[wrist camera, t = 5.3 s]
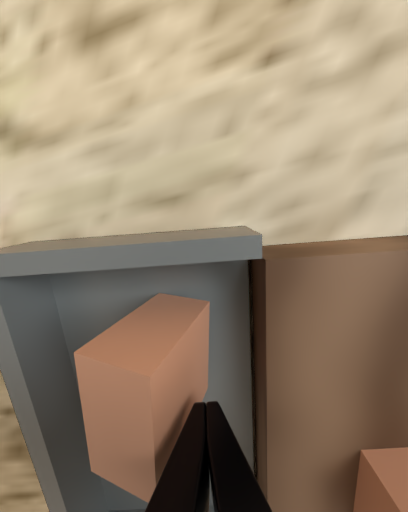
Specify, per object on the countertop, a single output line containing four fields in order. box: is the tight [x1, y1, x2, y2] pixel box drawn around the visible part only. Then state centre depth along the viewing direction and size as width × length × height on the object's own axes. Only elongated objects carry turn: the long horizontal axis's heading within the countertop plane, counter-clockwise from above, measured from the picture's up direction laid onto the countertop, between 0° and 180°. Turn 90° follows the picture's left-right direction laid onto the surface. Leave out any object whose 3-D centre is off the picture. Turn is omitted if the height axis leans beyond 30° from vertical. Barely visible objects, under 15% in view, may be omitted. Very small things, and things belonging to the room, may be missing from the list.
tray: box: [0, 226, 262, 512], centre depth 11 cm, size 10×18×3 cm, turn 4°
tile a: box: [74, 293, 210, 503], centre depth 8 cm, size 4×4×2 cm
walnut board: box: [251, 235, 408, 512], centre depth 11 cm, size 12×16×2 cm
